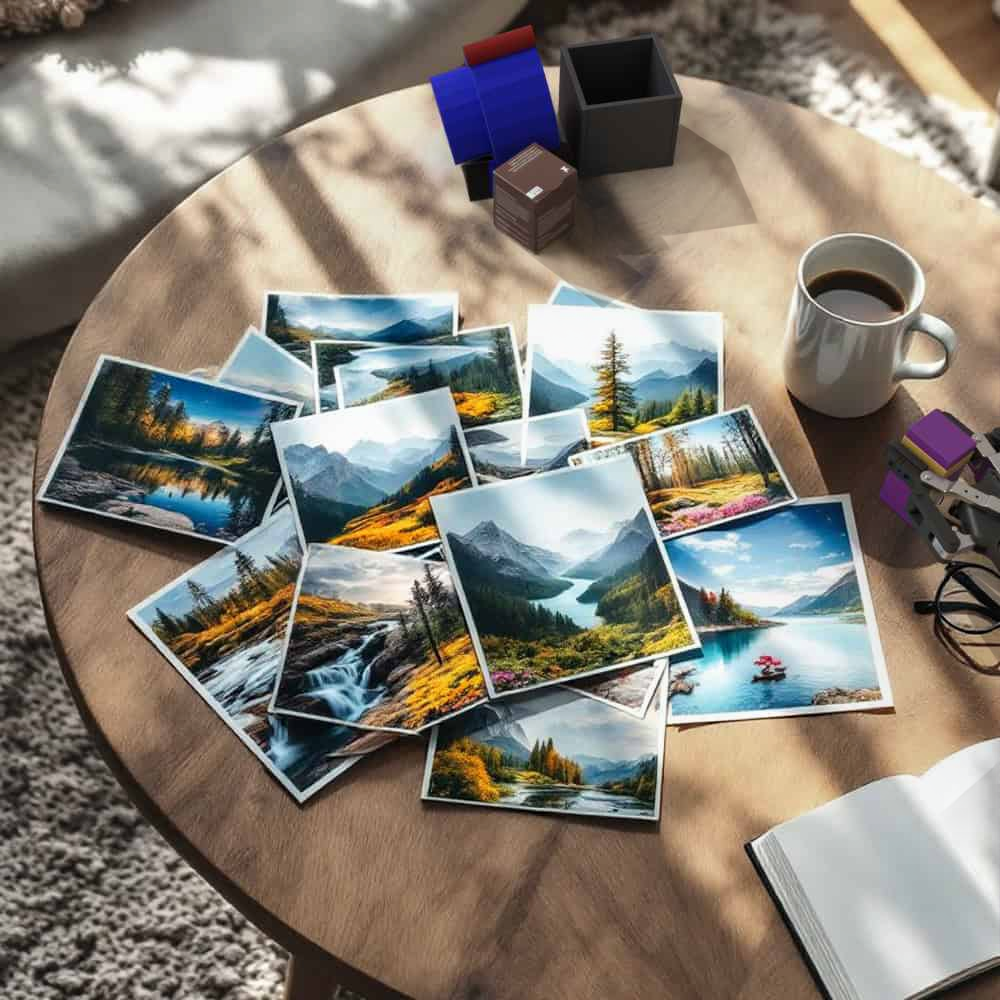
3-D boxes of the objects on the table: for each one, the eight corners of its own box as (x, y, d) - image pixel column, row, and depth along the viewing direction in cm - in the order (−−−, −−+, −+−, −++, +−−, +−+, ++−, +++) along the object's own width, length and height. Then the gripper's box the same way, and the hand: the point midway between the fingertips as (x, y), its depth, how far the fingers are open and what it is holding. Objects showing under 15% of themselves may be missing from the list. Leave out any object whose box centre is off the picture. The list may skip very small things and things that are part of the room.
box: (534, 196, 128) (535, 140, 122) (576, 226, 126) (579, 170, 120) (491, 226, 126) (490, 170, 120) (534, 257, 123) (535, 201, 117)
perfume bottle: (902, 477, 109) (935, 407, 100) (942, 511, 107) (979, 442, 98) (876, 496, 107) (907, 427, 99) (916, 531, 106) (951, 464, 97)
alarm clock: (565, 185, 129) (571, 63, 116) (449, 204, 127) (443, 83, 115) (537, 109, 135) (539, -14, 123) (426, 127, 134) (417, 4, 122)
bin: (649, 102, 136) (657, 33, 129) (673, 165, 130) (683, 96, 123) (557, 114, 135) (560, 45, 128) (578, 178, 130) (582, 110, 122)
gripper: (1157, 499, 94) (980, 360, 101) (1034, 601, 89) (858, 448, 97) (1116, 550, 100) (952, 416, 108) (999, 648, 95) (836, 501, 103)
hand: (909, 432), depth 102 cm, fingers open, 4 cm apart
